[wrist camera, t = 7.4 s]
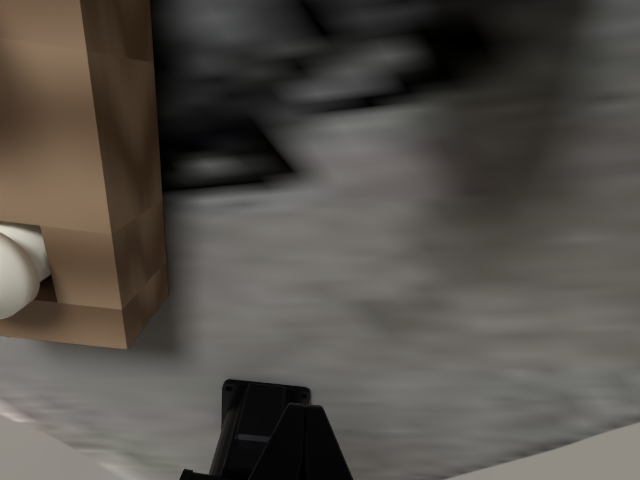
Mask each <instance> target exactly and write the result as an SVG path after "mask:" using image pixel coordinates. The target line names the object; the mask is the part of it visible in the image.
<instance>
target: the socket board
mask: <svg viewBox="0 0 640 480" xmlns="http://www.w3.org/2000/svg"><path fill="white" fill-rule="evenodd" d="M0 221H6V222H14V223H22V224H31V225H39V226H40V228H41V232H42V236H43V241H44V245H45V249H46V254H47V258H48V262H49V267H50V271H51V275H50V276H48V277H47V278H45V279H44V280H42V281H41V282H40V286H39V291H38V294H37V296H36V297H35V299H34V300H33V301H32V302H30V303H29V304H28V305H26V306H25V307H23V308H22V309H21V310H19V311H18V312H16V313H15V314H14V315H12V316H10V317H8V318H5V319H0V336H5V337H14V338H24V339H33V340H43V341H52V342H61V343H71V344H80V345H90V346H99V347H109V348H118V349H128V348H129V346H130V345H131V344H132V342H133V341H134V340H135V338H136V337H137V336H138V334H139V333H140V332H141V331H142V329H143V328H144V327H145V325H146V324H147V323H148V321H149V320H150V319H151V317H152V316H153V315H154V313H155V312H156V311H157V309H158V308H159V307H160V305H161V304H162V303H163V301H164V300H165V299H166V298H167V296H168V295H169V294H168V278H167V262H166V246H165V231H164V215H163V199H162V183H161V168H160V152H159V136H158V120H157V104H156V89H155V73H154V57H153V41H152V26H151V10H150V0H0Z"/></svg>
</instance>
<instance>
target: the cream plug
mask: <svg viewBox="0 0 640 480" xmlns="http://www.w3.org/2000/svg"><path fill="white" fill-rule="evenodd" d="M50 275H51V271H50V267H49V262H48V258H47V254H46V249H45V245H44V241H43V236H42V232H41V228H40V226H39V225H31V224H22V223H14V222H6V221H0V319H5V318H8V317H10V316H12V315H14V314H15V313H16V312H18V311H19V310H21V309H22V308H23V307H25V306H26V305H28V304H29V303H30V302H32V301H33V300H34V299H35V297H36V296H37V294H38V291H39V286H40V282H41V281H42V280H44V279H45V278H47V277H48V276H50Z"/></svg>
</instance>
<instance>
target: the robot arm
mask: <svg viewBox="0 0 640 480" xmlns="http://www.w3.org/2000/svg"><path fill="white" fill-rule="evenodd" d="M229 386H230V387H229ZM309 401H310V390H309V389H308V388H306V387H299V386H290V385H280V384H270V383H261V382H251V381H241V380H231V379H229V380H226V381H225V382H224V384H223V387H222V426H221V434H220V438H219V441H218V444H217V448H216V451H215V454H214V458H213V461H212V464H211V468H210V471H209V475H208V474H201V473H195V472H193V470H188V469H184V470H183V473H182V475H181V477H180V480H353V478H352V476H351V473H350V471H349V468H348V466H347V464H346V461H345V459H344V456H343V454H342V452H341V449H340V447H339V444H338V442H337V440H336V437H335V435H334V432H333V430H332V428H331V425H330V423H329V420H328V418H327V416H326V413H325V411H324V409H323V407H322V406H320V405H310V404H309Z"/></svg>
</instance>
